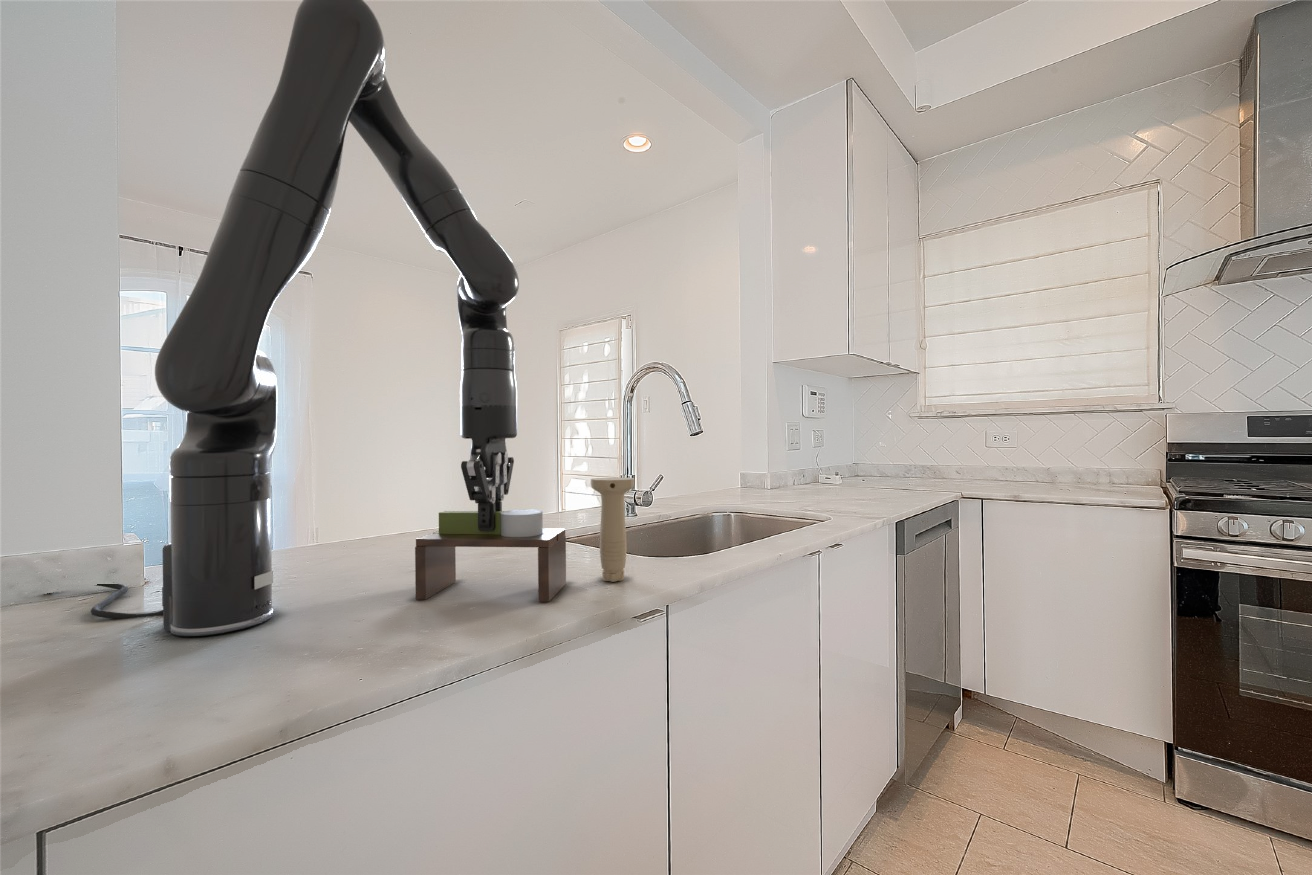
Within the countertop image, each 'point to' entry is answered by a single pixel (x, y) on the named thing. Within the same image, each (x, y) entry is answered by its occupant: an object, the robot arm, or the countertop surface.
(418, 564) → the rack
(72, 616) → the countertop surface
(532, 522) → the green handled white cylinder
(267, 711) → the countertop surface
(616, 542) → the handle
